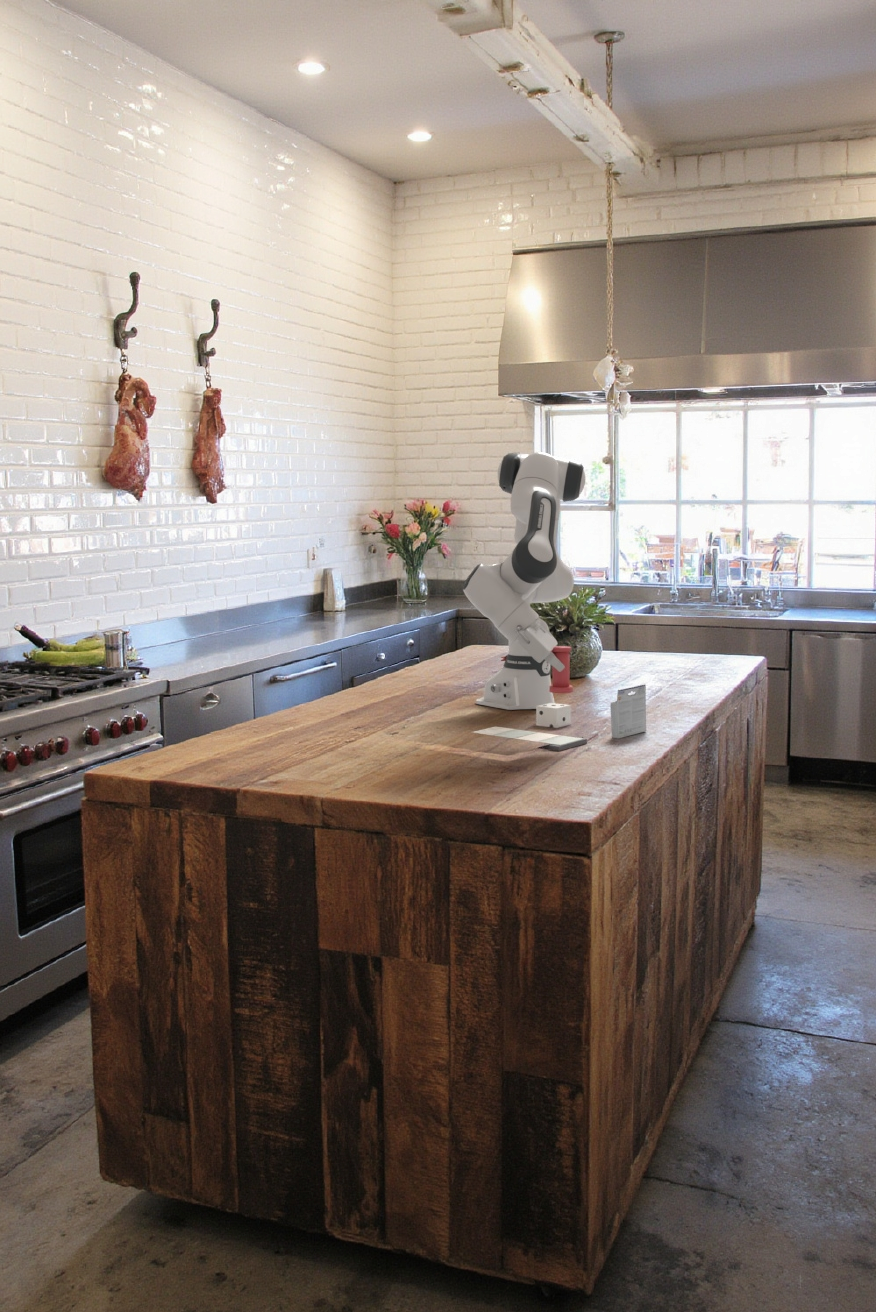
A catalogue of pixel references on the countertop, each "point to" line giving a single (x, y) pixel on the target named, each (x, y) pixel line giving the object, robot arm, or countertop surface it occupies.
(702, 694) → the countertop surface
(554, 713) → the die
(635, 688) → the ink box
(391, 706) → the countertop surface
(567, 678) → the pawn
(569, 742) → the game board
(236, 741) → the countertop surface
